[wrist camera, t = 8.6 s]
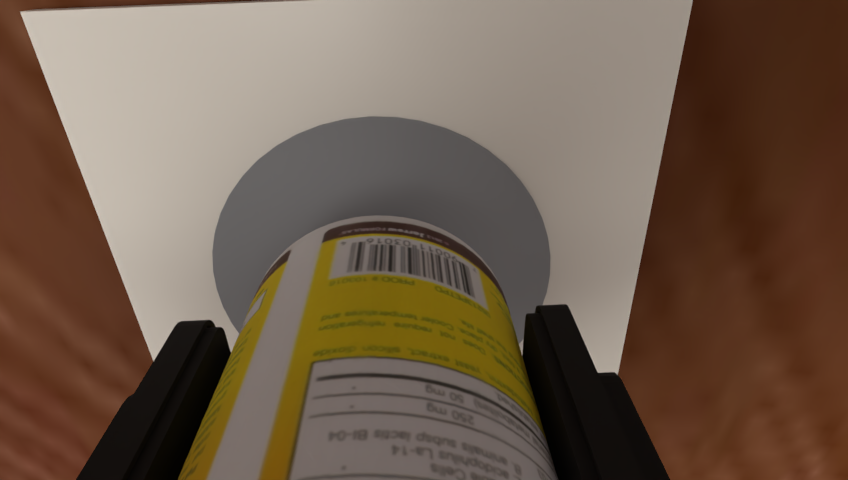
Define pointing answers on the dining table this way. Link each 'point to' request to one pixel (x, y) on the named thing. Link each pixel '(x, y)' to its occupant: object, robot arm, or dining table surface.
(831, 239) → the dining table surface
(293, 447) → the supplement bottle
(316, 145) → the card
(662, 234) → the dining table surface
